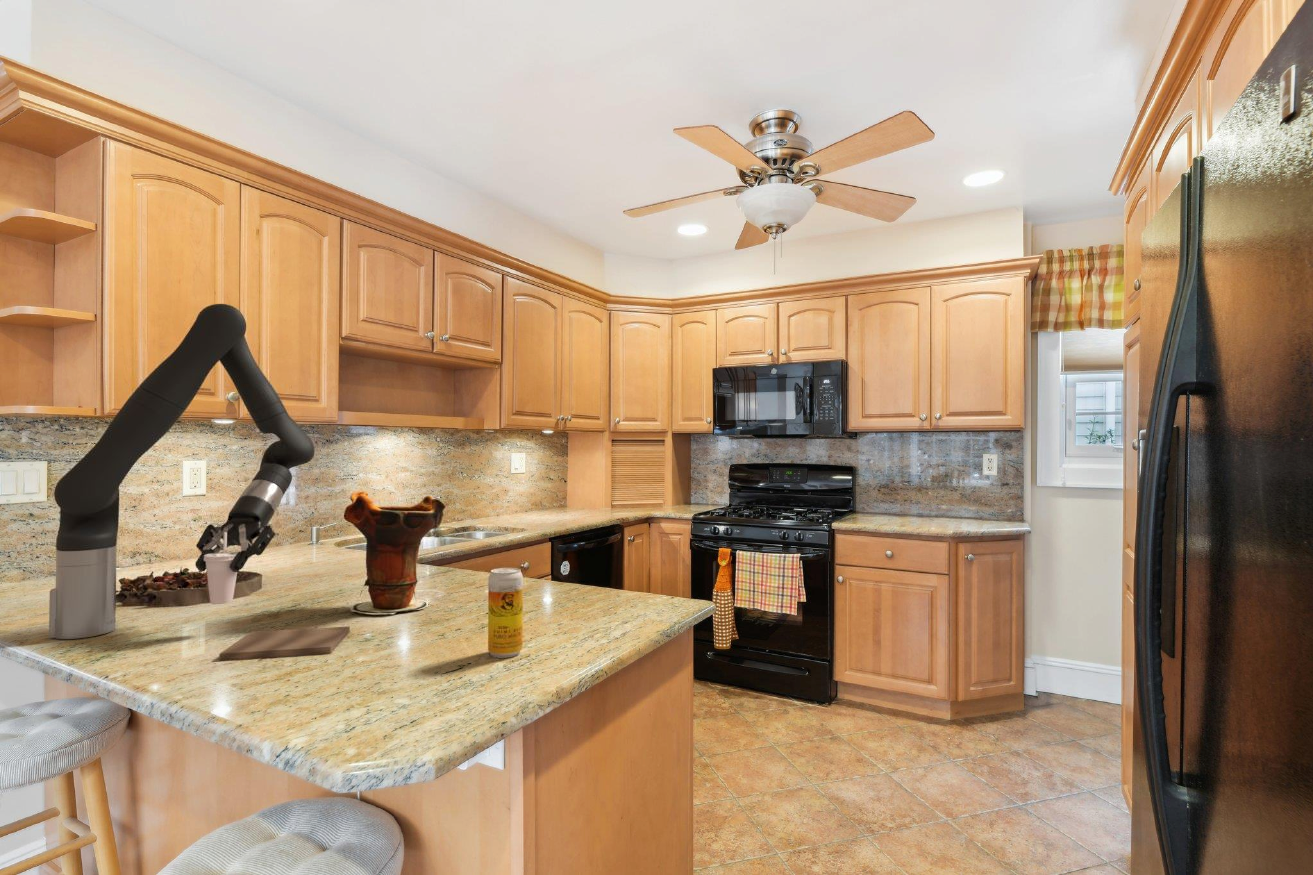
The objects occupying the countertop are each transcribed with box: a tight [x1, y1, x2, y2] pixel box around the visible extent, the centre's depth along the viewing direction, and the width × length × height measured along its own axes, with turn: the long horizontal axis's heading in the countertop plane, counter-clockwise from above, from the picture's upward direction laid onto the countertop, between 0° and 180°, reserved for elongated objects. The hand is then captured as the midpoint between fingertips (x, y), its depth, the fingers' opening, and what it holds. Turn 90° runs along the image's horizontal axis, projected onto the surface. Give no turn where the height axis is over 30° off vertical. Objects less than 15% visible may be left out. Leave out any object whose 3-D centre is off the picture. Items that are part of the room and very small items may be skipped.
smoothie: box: [204, 532, 239, 605], centre depth 131 cm, size 6×6×14 cm
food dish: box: [116, 566, 263, 608], centre depth 169 cm, size 35×33×8 cm
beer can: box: [487, 567, 524, 659], centre depth 118 cm, size 6×6×15 cm
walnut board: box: [218, 626, 351, 661], centre depth 123 cm, size 18×14×1 cm
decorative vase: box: [343, 490, 446, 615], centre depth 153 cm, size 20×22×27 cm
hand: (216, 569), depth 130 cm, fingers closed on smoothie, 6 cm apart
